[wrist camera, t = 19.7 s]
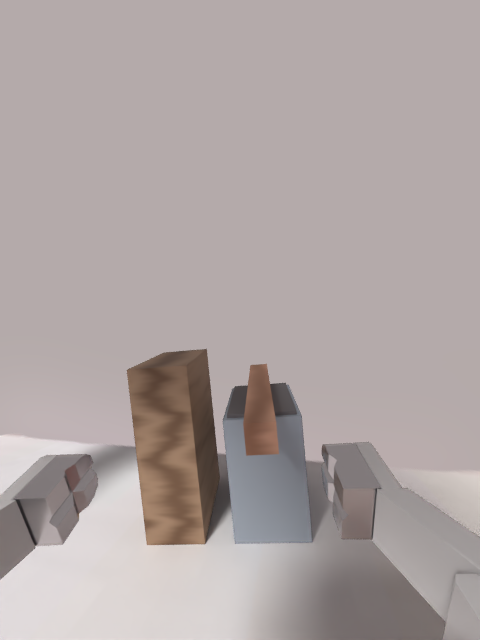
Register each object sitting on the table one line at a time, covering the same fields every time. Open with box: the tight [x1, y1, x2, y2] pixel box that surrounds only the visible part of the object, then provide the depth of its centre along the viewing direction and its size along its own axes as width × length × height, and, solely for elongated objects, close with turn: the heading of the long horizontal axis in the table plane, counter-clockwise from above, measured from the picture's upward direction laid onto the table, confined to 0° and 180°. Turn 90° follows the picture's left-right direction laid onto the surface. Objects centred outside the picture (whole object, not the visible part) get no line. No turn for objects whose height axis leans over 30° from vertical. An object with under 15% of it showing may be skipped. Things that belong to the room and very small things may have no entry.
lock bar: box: [243, 364, 279, 456], centre depth 32 cm, size 3×22×3 cm, turn 176°
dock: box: [223, 383, 312, 544], centre depth 35 cm, size 10×12×17 cm
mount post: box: [127, 349, 220, 545], centre depth 36 cm, size 8×12×24 cm, turn 176°
